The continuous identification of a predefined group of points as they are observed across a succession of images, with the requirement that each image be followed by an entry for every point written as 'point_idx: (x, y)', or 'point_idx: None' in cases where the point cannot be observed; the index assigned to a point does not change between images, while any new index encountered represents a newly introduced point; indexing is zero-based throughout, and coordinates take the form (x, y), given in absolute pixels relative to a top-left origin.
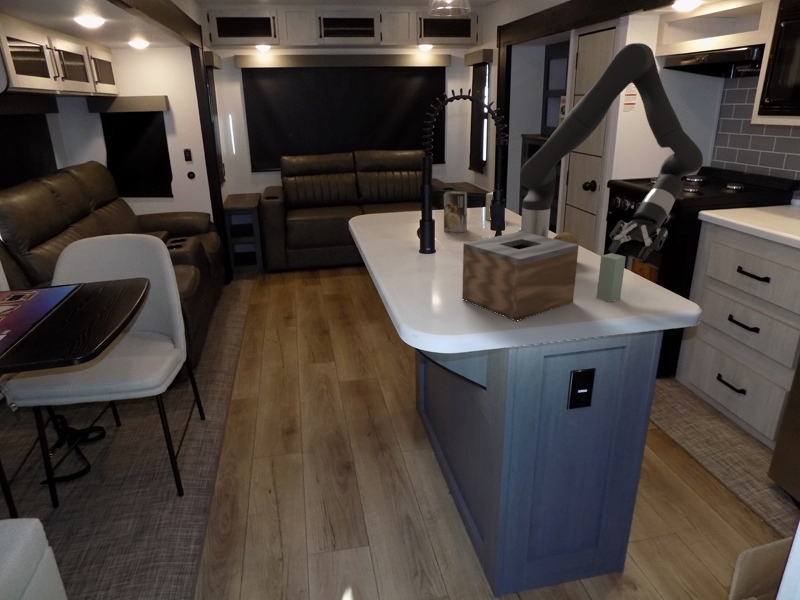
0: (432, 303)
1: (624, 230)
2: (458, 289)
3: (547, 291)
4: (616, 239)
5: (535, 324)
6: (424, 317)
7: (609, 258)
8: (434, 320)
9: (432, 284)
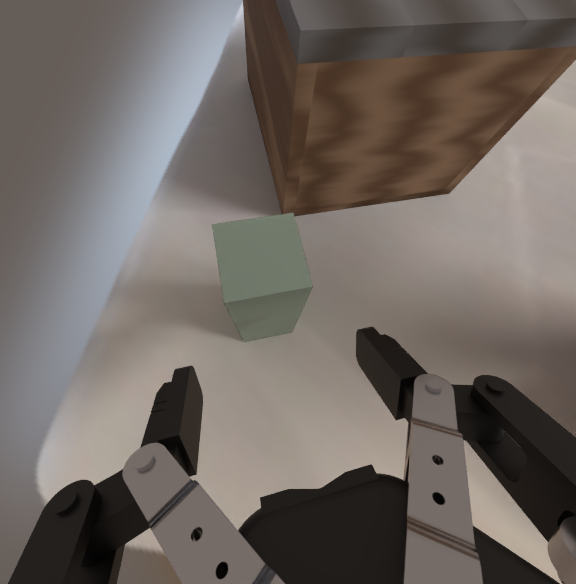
0: None
1: (456, 459)
2: None
3: (262, 92)
4: (415, 379)
5: (219, 93)
6: None
7: (247, 220)
8: None
9: None
